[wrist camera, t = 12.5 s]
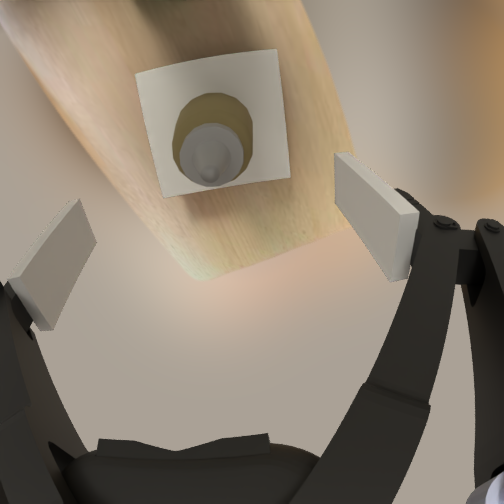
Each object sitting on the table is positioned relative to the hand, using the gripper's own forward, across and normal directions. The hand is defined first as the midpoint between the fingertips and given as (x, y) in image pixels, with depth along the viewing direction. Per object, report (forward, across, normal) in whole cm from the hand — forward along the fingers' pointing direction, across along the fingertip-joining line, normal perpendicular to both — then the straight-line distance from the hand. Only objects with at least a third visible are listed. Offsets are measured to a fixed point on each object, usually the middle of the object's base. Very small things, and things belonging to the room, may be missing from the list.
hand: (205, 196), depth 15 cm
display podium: (+27, 0, 0) cm, 27 cm away
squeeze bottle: (+22, 0, 0) cm, 22 cm away
